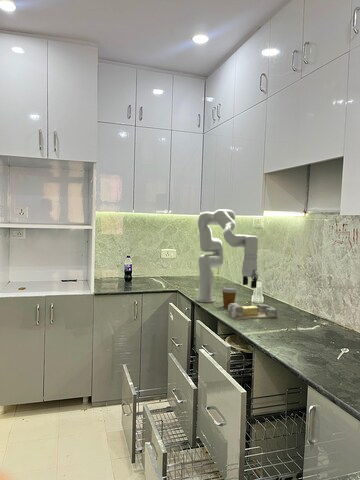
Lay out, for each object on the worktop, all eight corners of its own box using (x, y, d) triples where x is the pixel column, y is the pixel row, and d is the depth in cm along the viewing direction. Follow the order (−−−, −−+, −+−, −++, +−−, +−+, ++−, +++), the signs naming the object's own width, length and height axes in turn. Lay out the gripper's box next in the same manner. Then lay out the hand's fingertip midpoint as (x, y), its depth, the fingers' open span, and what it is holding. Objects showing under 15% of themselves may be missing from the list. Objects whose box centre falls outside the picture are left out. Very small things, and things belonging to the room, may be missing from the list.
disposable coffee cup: (238, 306, 236) (239, 288, 235) (232, 309, 228) (233, 290, 227) (224, 304, 241) (225, 286, 240) (218, 307, 233) (219, 288, 232)
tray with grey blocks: (225, 313, 218) (225, 302, 218) (263, 311, 227) (264, 300, 226) (236, 319, 205) (236, 308, 205) (276, 317, 214) (277, 305, 213)
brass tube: (232, 313, 214) (232, 306, 214) (254, 312, 219) (254, 305, 219) (235, 315, 210) (236, 308, 210) (258, 314, 215) (258, 307, 215)
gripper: (237, 255, 220) (236, 283, 221) (252, 258, 204) (251, 289, 205) (248, 255, 222) (247, 283, 223) (264, 258, 206) (262, 288, 207)
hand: (249, 286), depth 214 cm, fingers open, 9 cm apart
